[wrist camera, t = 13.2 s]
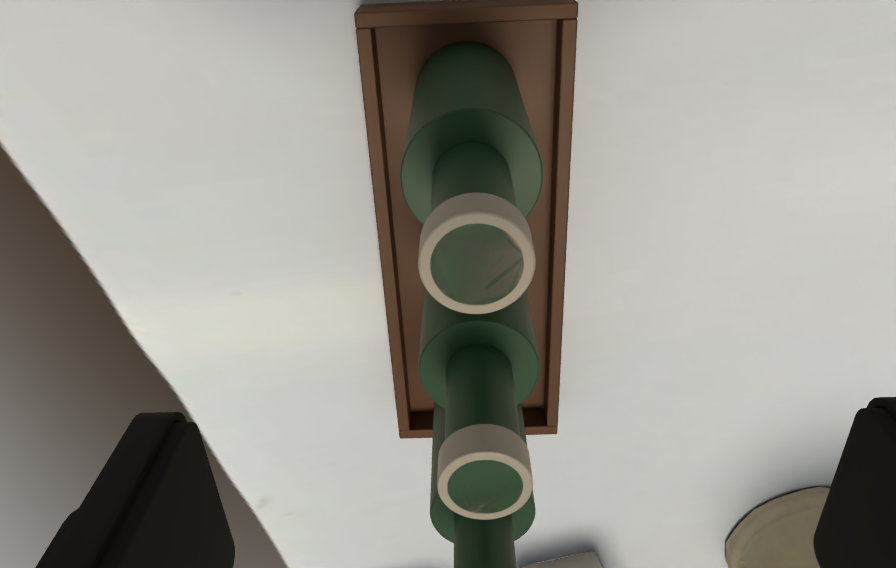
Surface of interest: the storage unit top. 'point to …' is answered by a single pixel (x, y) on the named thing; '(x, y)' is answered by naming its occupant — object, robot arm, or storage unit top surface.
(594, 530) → the storage unit top surface
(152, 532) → the robot arm
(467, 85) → the bottle
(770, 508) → the lamp
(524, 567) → the grey compartment organizer
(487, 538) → the bottle end
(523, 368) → the bottle mid
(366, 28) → the tray
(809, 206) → the storage unit top surface
